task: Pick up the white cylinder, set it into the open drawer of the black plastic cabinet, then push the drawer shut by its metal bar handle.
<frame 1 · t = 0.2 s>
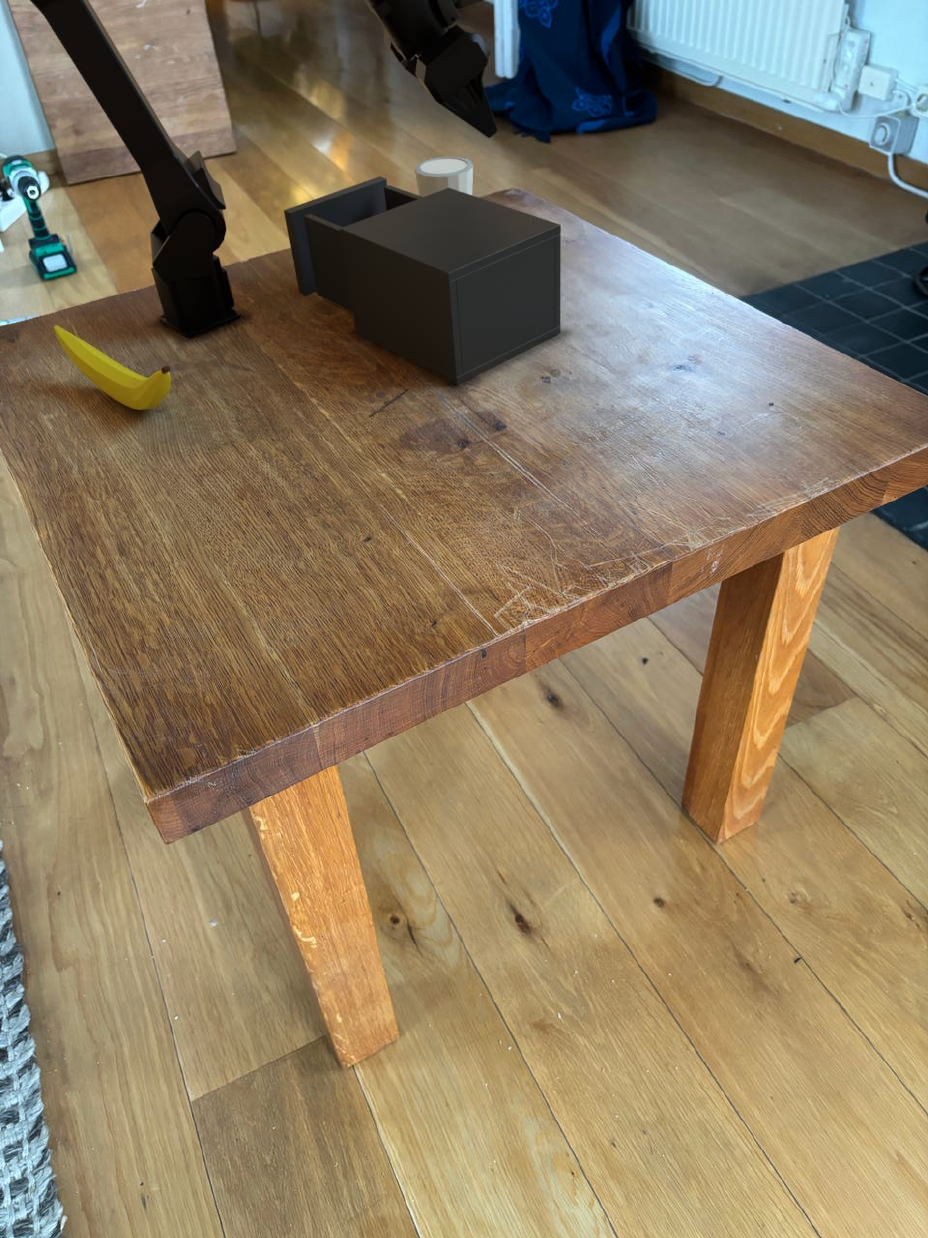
hand: (480, 121, 97), 15 cm above the table, tool tilted 30°, fingers open, 9 cm apart
white cylinder: (448, 227, 117), on the table
cabinet: (456, 333, 96), on the table
banana: (127, 402, 91), on the table
drawer: (368, 246, 100), point 5 cm above the table, slide at 9.5 cm
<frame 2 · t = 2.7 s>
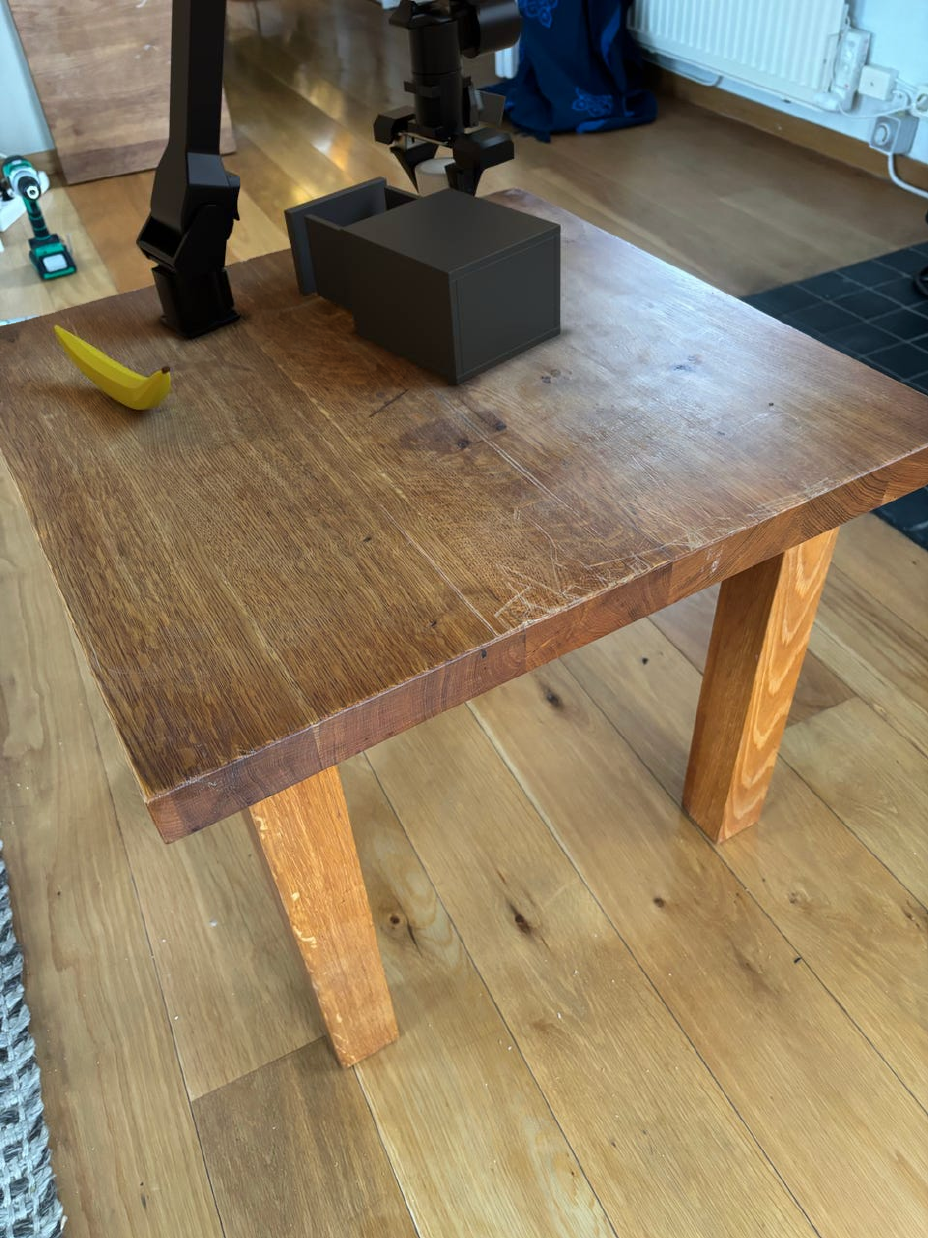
hand: (447, 213, 116), 2 cm above the table, tool pointing down, fingers closed on white cylinder, 6 cm apart
white cylinder: (448, 227, 117), on the table, touching gripper
everything else where it was.
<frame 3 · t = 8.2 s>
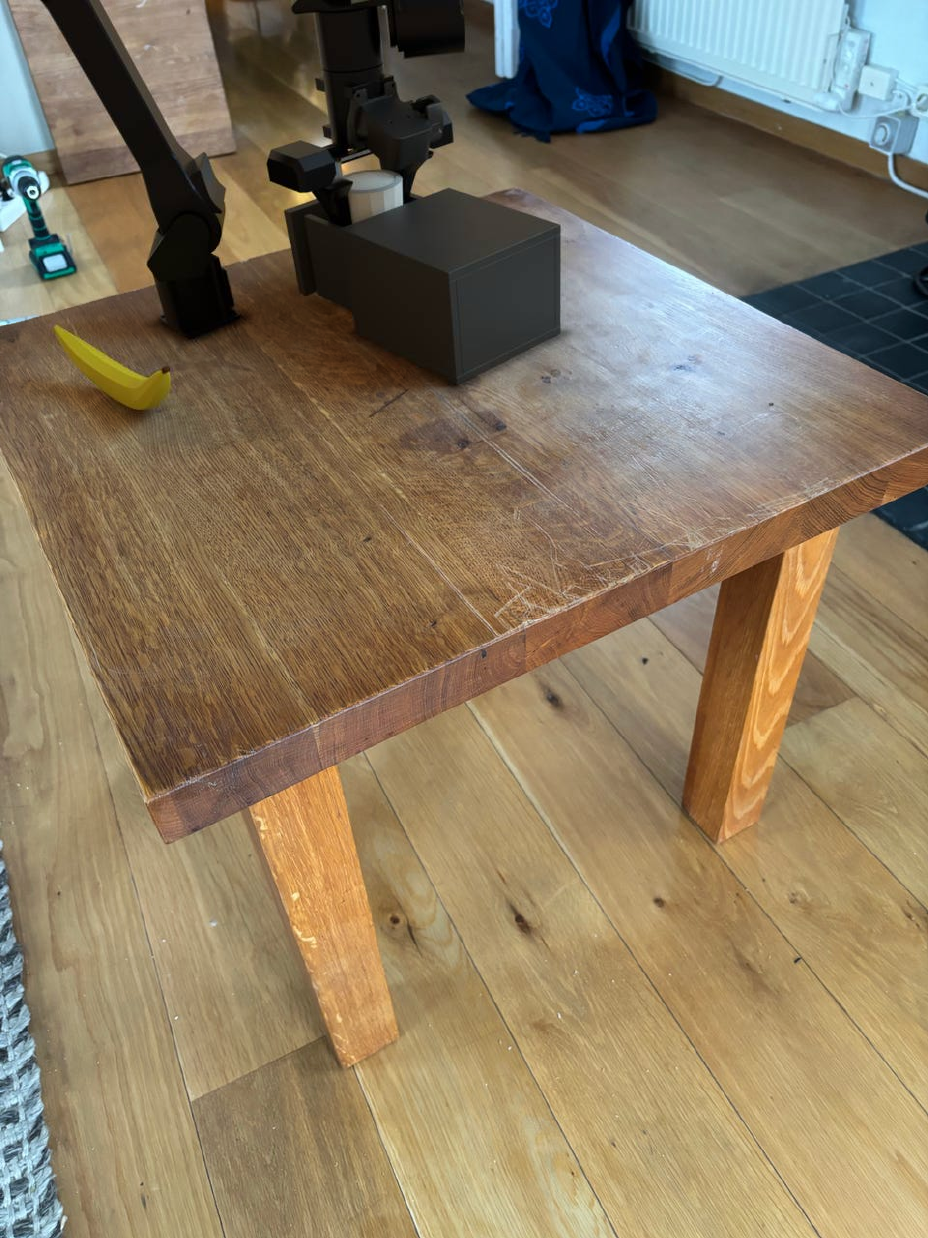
hand: (374, 235, 99), 7 cm above the table, tool pointing down, fingers closed on white cylinder, 6 cm apart
white cylinder: (376, 252, 100), point 5 cm above the table, touching gripper
drawer: (368, 246, 100), point 5 cm above the table, slide at 9.5 cm, touching gripper
everything else where it was.
when the fingers open (7 cm above the table, at t = 10.1 s): white cylinder drops 3 cm, resting on drawer.
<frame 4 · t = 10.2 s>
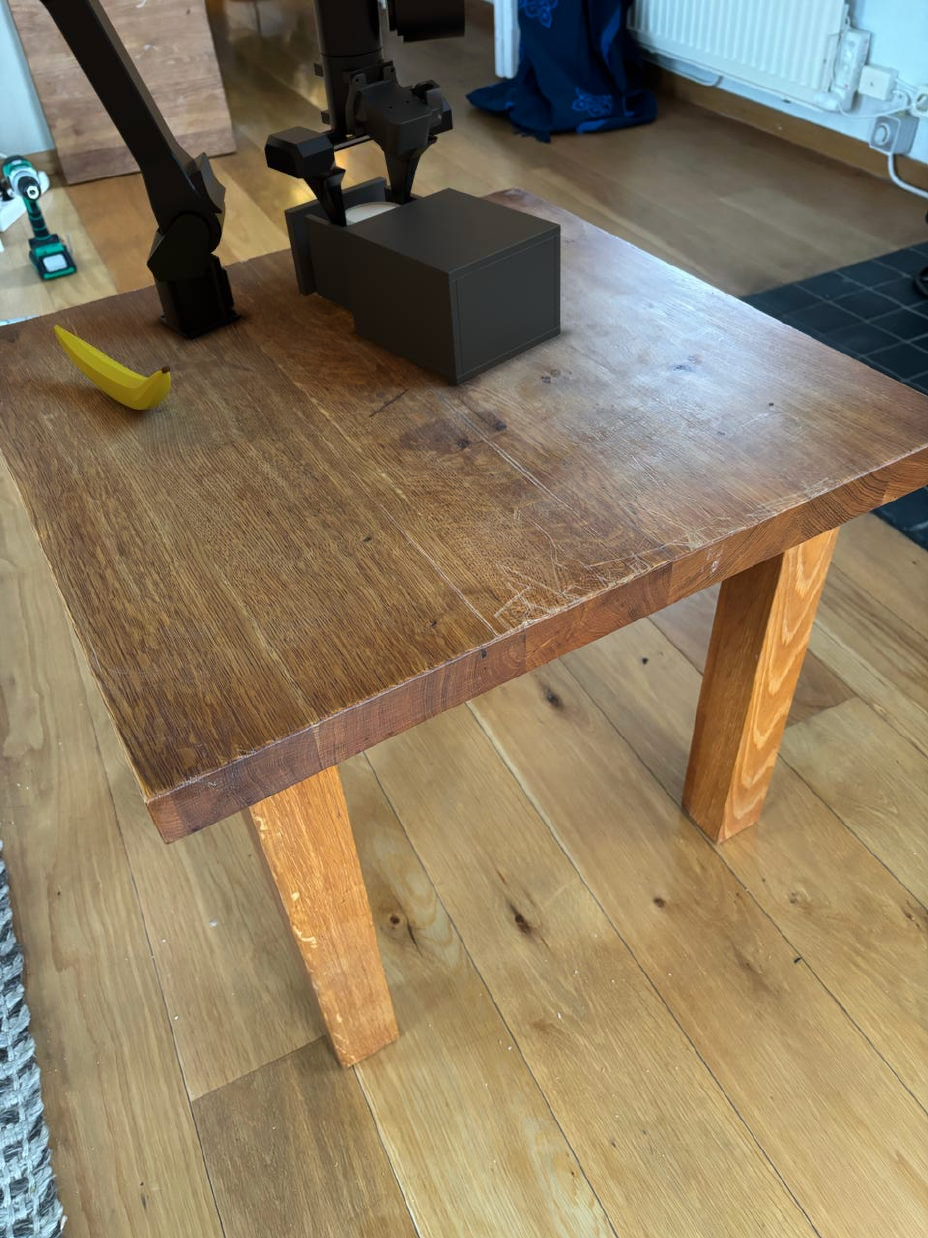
hand: (372, 223, 98), 8 cm above the table, tool pointing down, fingers open, 7 cm apart
white cylinder: (382, 282, 102), point 2 cm above the table, touching drawer, gripper
drawer: (368, 246, 100), point 5 cm above the table, slide at 9.5 cm, touching gripper, white cylinder
everything else where it was.
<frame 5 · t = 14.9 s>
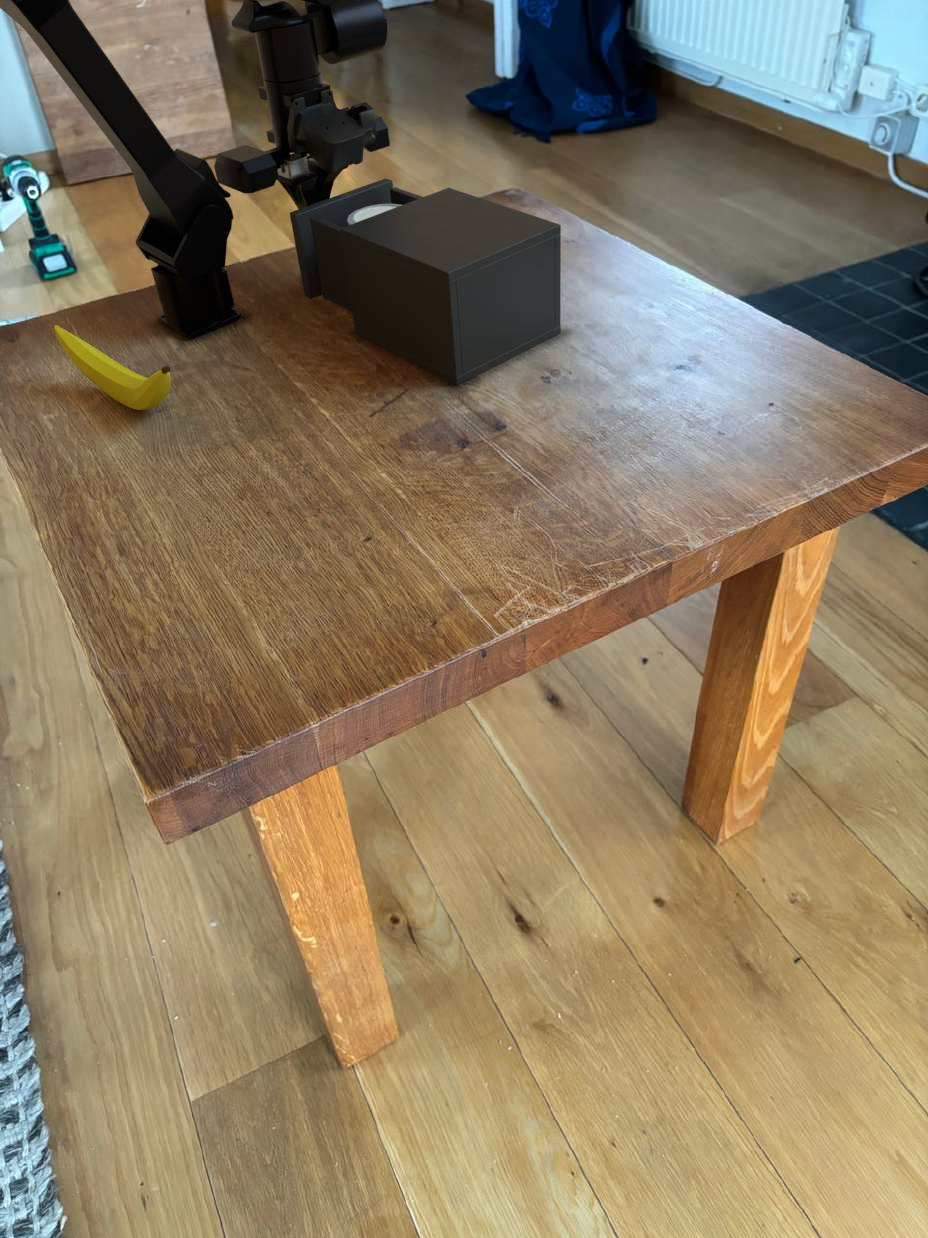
hand: (318, 232, 106), 5 cm above the table, tool pointing down, fingers closed
white cylinder: (389, 284, 102), point 2 cm above the table, touching drawer
drawer: (374, 249, 100), point 5 cm above the table, slide at 8.5 cm, touching gripper, white cylinder
everything else where it was.
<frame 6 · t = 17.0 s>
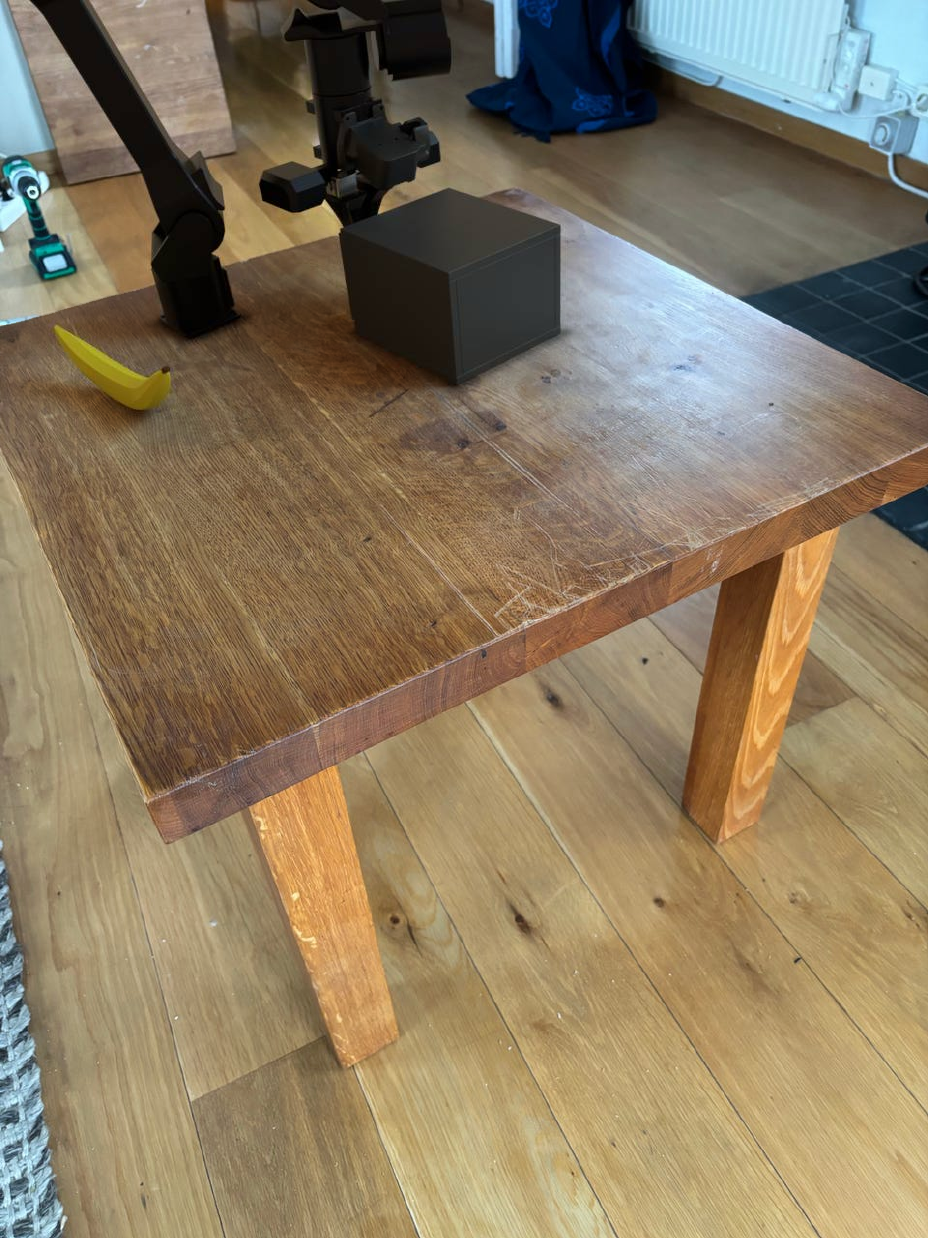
hand: (364, 251, 102), 5 cm above the table, tool pointing down, fingers closed, pressing on drawer
white cylinder: (441, 307, 97), point 2 cm above the table, touching drawer
drawer: (426, 271, 95), point 5 cm above the table, slide at 0.1 cm, touching gripper, white cylinder
everything else where it was.
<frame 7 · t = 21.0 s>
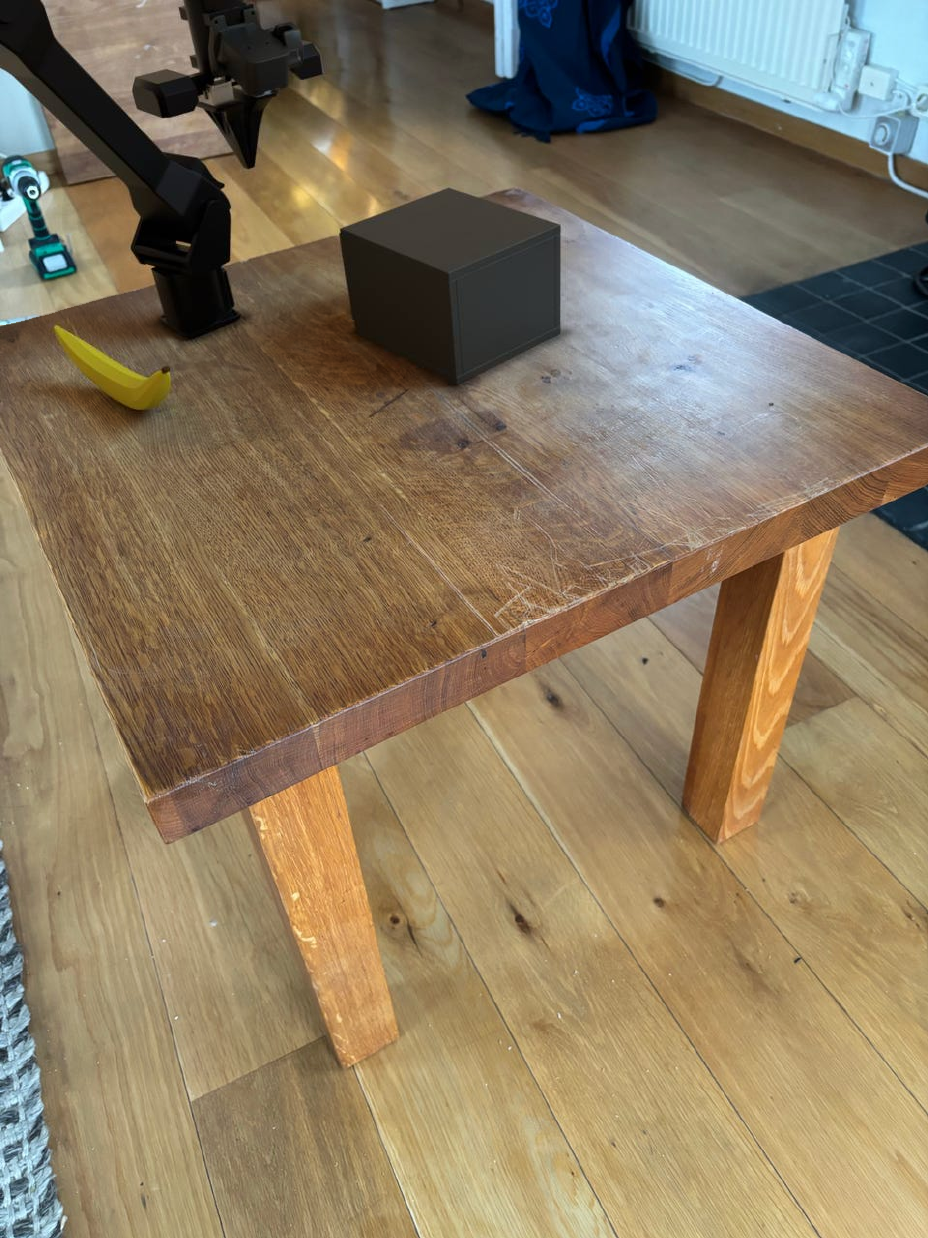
hand: (249, 167, 101), 12 cm above the table, tool pointing down, fingers closed
drawer: (427, 271, 95), point 5 cm above the table, slide at 0.0 cm, touching white cylinder
everything else where it was.
at the end: drawer slide at 0.0 cm; white cylinder inside the target area in the cabinet (2.5 cm from its centre), point 1.8 cm above the cabinet's base; white cylinder tilted 0° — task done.
